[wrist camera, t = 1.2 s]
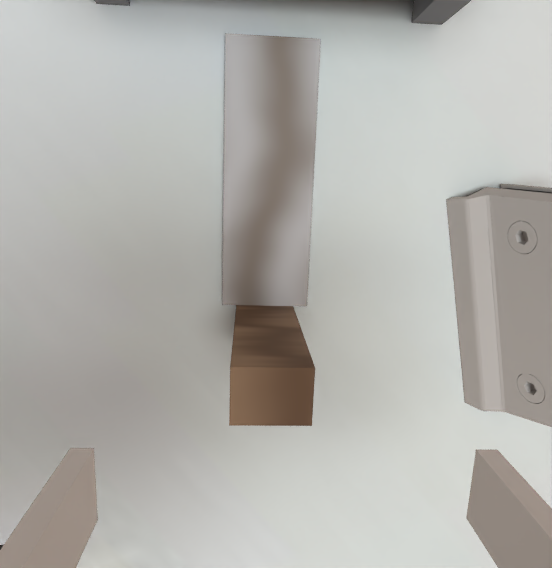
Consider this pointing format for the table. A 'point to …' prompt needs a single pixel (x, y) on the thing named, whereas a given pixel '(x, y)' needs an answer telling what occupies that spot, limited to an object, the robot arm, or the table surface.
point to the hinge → (504, 298)
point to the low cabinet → (426, 9)
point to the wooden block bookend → (269, 223)
